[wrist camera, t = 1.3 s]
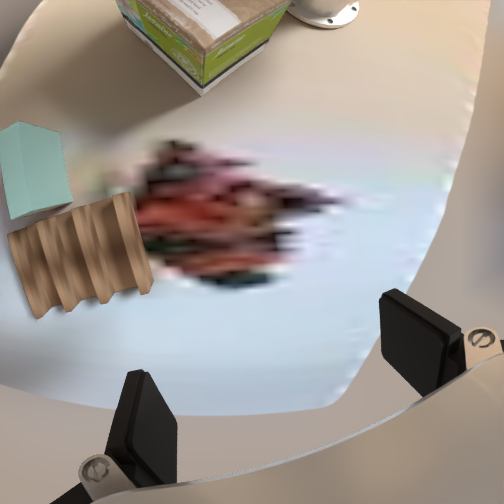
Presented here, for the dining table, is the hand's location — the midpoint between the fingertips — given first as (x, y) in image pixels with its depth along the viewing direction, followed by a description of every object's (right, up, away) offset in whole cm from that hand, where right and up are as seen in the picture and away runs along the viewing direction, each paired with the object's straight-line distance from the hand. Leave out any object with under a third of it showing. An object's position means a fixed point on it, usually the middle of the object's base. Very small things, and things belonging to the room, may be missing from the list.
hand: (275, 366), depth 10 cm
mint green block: (-25, +14, +19) cm, 34 cm away
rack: (-22, +4, +22) cm, 31 cm away
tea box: (-8, +30, +18) cm, 36 cm away
